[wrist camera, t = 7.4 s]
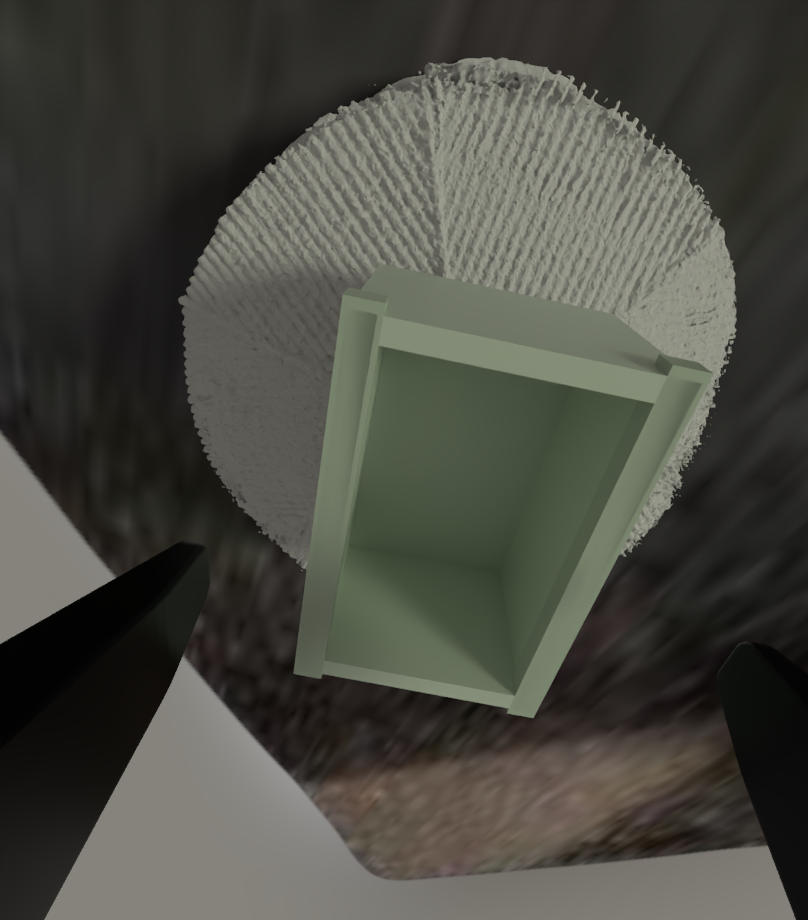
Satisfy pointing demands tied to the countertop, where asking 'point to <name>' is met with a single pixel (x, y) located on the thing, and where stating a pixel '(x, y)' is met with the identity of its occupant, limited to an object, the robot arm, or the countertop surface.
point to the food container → (439, 257)
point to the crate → (478, 483)
